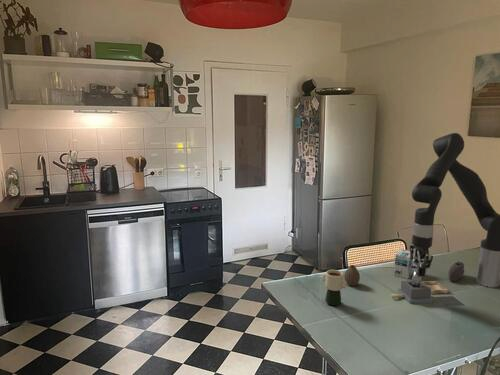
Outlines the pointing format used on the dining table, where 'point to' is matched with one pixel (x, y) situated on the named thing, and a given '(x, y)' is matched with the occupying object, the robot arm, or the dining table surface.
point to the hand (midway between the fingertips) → (418, 273)
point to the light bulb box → (403, 264)
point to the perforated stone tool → (456, 271)
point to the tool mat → (450, 301)
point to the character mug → (334, 286)
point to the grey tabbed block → (416, 274)
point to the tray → (436, 287)
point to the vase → (352, 276)
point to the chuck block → (414, 293)
